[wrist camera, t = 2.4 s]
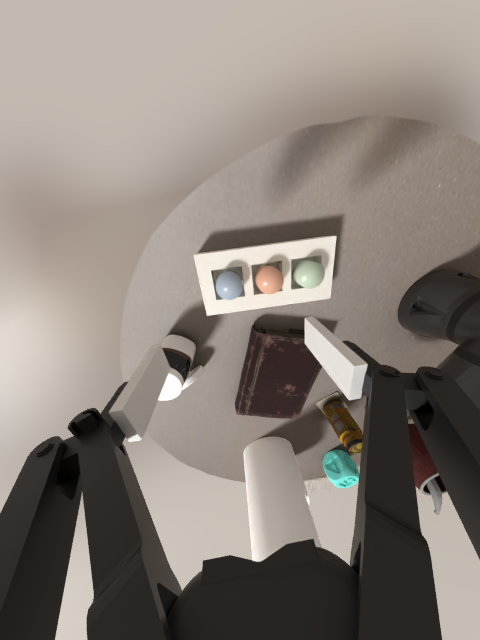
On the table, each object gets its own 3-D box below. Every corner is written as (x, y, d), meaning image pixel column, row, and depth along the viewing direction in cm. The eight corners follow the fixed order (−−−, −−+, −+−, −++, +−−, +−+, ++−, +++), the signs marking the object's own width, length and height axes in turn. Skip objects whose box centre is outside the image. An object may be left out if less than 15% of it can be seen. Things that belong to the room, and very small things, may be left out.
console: (323, 236, 34) (336, 235, 29) (319, 292, 38) (330, 298, 34) (197, 253, 33) (193, 255, 29) (208, 307, 38) (206, 315, 34)
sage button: (316, 258, 32) (325, 260, 29) (314, 282, 34) (323, 286, 30) (291, 261, 32) (299, 264, 28) (291, 285, 33) (298, 290, 30)
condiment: (326, 417, 56) (350, 459, 45) (314, 403, 53) (337, 445, 42) (347, 406, 55) (377, 447, 44) (336, 391, 52) (366, 431, 41)
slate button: (239, 268, 31) (240, 271, 28) (242, 292, 33) (243, 298, 30) (214, 272, 31) (213, 275, 28) (218, 295, 33) (218, 301, 30)
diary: (234, 400, 51) (234, 415, 46) (250, 322, 41) (253, 332, 36) (295, 404, 53) (301, 420, 49) (325, 332, 43) (336, 343, 39)
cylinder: (233, 453, 60) (238, 609, 35) (273, 429, 57) (312, 584, 31) (263, 471, 67) (287, 614, 41) (301, 450, 63) (353, 594, 37)
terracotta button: (277, 263, 32) (283, 266, 28) (278, 287, 33) (284, 292, 30) (253, 266, 31) (256, 269, 28) (255, 290, 33) (258, 296, 30)
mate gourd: (382, 401, 55) (459, 481, 37) (418, 405, 57) (508, 482, 39) (358, 433, 61) (414, 515, 43) (392, 435, 63) (459, 514, 45)
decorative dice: (318, 458, 66) (330, 485, 58) (334, 446, 63) (348, 473, 56) (333, 463, 68) (346, 490, 61) (348, 452, 66) (364, 478, 58)
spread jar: (168, 325, 39) (147, 358, 28) (216, 343, 42) (213, 379, 31) (153, 365, 43) (129, 407, 32) (197, 379, 46) (188, 421, 35)
